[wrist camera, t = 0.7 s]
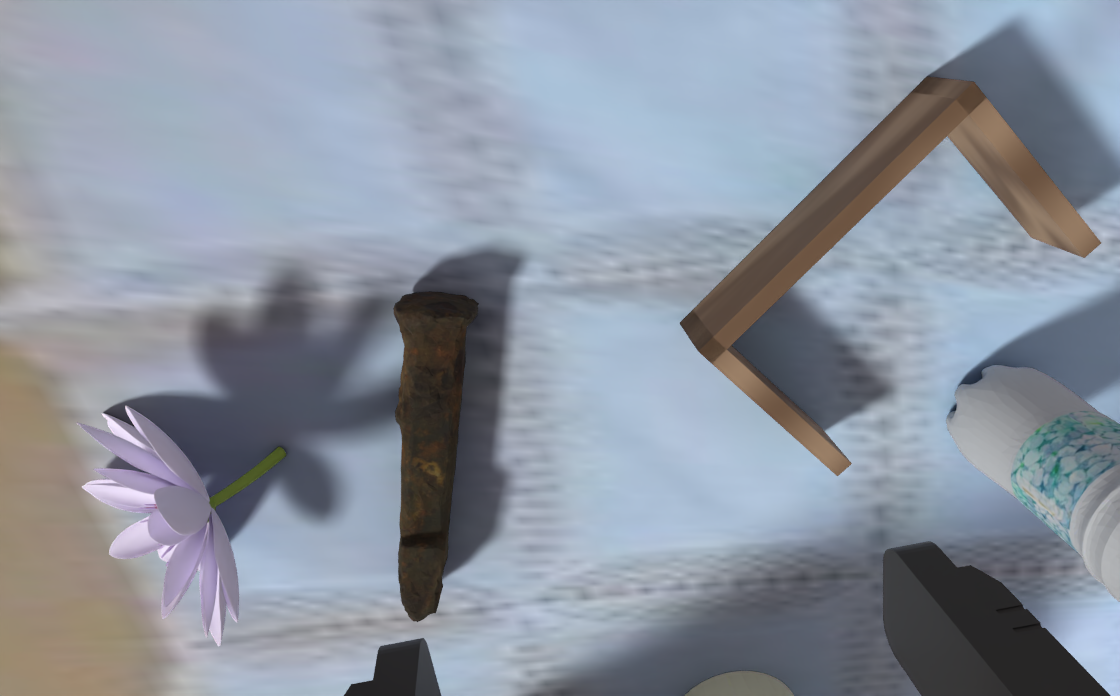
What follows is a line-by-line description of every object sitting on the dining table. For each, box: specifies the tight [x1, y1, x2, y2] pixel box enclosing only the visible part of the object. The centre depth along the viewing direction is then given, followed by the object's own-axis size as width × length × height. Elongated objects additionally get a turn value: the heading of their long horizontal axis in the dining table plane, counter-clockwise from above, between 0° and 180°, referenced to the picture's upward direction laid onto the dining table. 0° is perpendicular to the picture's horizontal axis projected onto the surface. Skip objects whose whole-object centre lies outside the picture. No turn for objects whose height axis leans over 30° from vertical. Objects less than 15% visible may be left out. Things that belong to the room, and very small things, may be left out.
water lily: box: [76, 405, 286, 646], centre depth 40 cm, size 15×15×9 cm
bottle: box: [946, 365, 1120, 602], centre depth 37 cm, size 7×7×20 cm
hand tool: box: [393, 292, 478, 622], centre depth 42 cm, size 19×4×5 cm, turn 171°
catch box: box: [680, 77, 1101, 476], centre depth 40 cm, size 11×17×4 cm, turn 137°
